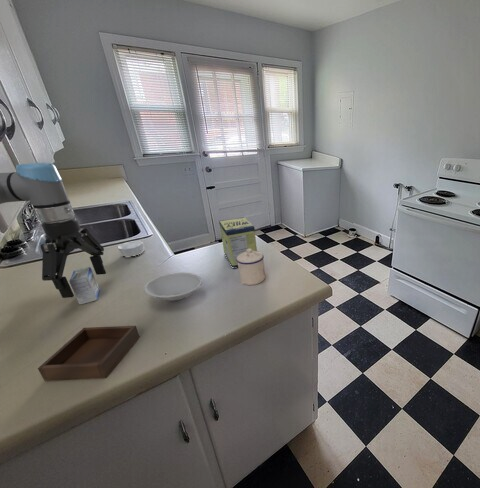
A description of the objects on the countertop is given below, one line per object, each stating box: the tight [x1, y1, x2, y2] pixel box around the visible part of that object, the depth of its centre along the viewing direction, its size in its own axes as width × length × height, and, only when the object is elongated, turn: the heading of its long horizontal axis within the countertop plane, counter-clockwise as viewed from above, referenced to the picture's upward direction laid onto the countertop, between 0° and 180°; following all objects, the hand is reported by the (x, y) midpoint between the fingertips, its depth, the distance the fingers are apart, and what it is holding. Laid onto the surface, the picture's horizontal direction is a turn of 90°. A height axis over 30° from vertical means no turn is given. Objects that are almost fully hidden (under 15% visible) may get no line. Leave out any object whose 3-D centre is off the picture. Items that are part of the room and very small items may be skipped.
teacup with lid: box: [236, 249, 266, 286], centre depth 95 cm, size 12×9×12 cm
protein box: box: [218, 216, 258, 268], centre depth 108 cm, size 10×16×16 cm
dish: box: [143, 272, 203, 302], centre depth 85 cm, size 18×14×5 cm
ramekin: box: [117, 240, 145, 257], centre depth 115 cm, size 9×9×4 cm
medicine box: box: [68, 266, 100, 305], centre depth 84 cm, size 8×4×9 cm, turn 34°
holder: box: [37, 325, 141, 382], centre depth 63 cm, size 13×13×4 cm
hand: (86, 284), depth 84 cm, fingers open, 13 cm apart
